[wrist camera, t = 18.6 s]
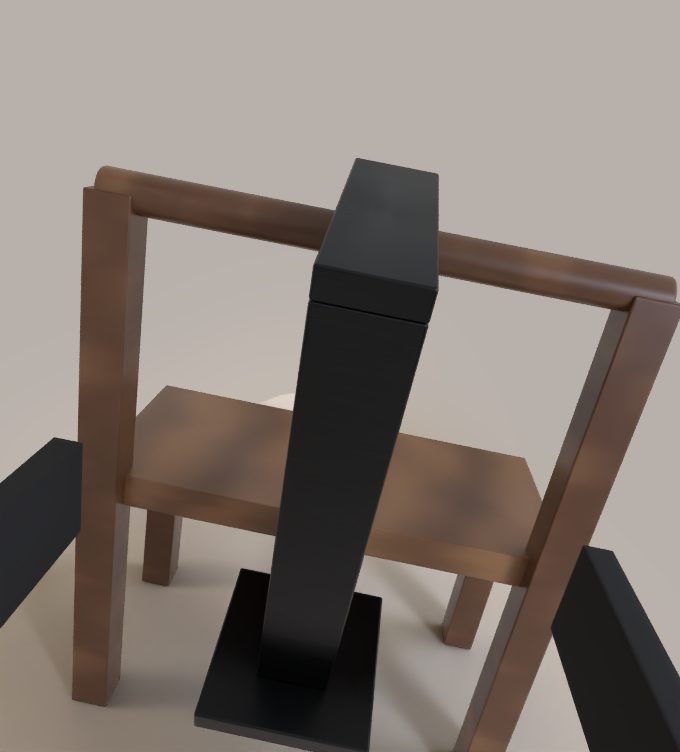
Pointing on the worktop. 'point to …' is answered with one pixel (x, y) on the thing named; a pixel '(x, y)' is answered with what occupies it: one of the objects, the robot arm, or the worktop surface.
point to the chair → (409, 459)
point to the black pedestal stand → (333, 478)
